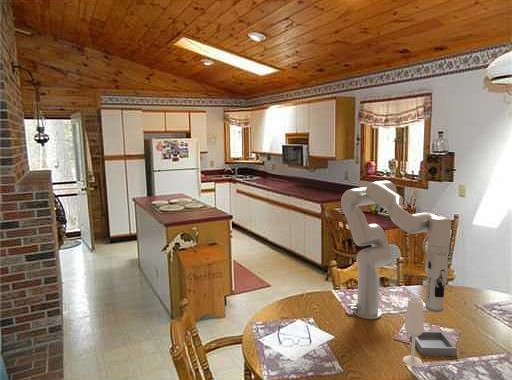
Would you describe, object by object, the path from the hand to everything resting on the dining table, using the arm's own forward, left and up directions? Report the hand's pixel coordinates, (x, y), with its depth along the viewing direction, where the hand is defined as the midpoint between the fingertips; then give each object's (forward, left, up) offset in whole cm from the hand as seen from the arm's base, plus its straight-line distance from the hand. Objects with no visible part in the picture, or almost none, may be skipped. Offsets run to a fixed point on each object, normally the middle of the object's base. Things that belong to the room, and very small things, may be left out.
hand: (435, 292), depth 150 cm
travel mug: (0, 0, -7) cm, 7 cm away
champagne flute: (-11, -11, -23) cm, 27 cm away
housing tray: (0, 0, -22) cm, 22 cm away
